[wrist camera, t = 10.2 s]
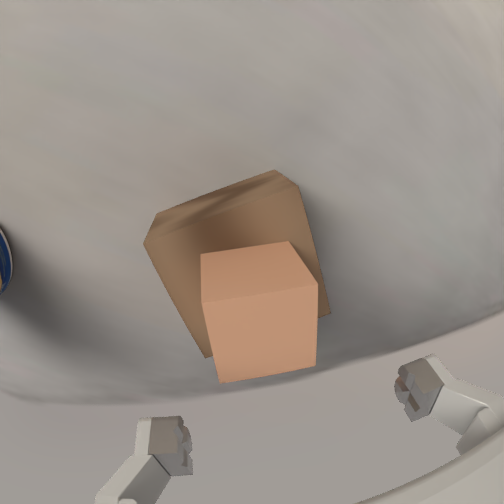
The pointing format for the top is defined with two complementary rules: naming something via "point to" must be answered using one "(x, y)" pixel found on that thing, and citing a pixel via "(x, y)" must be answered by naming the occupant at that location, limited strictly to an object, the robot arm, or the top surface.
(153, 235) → the walnut block
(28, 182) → the top surface
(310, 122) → the top surface
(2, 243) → the beverage bottle
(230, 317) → the terracotta cube
